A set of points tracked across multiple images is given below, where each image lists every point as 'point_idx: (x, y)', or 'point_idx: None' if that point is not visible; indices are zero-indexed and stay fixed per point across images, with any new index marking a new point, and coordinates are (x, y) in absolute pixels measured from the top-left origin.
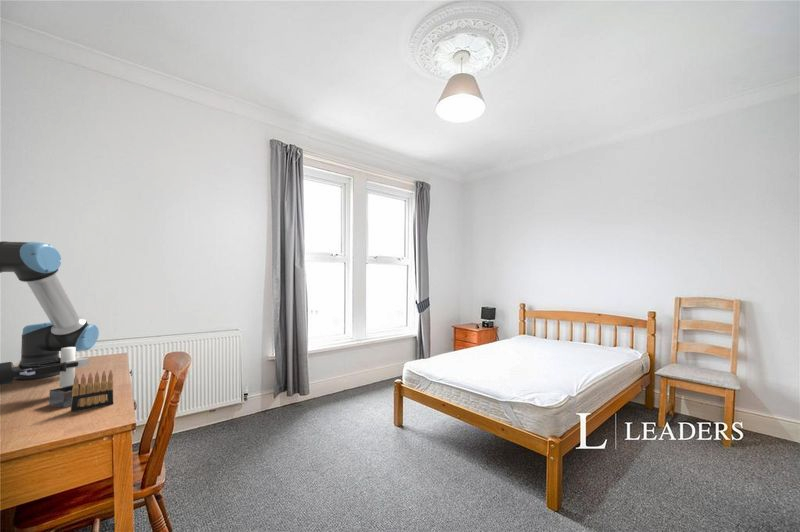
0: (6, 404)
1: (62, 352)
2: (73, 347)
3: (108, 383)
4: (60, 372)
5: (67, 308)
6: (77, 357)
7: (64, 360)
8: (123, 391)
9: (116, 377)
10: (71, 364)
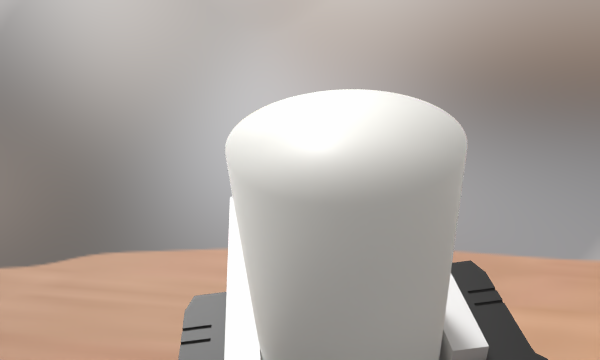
0: None
1: (422, 254)
2: (344, 102)
3: None
4: None
5: None
6: (232, 240)
7: (437, 349)
8: (532, 266)
9: (144, 260)
10: (507, 325)
